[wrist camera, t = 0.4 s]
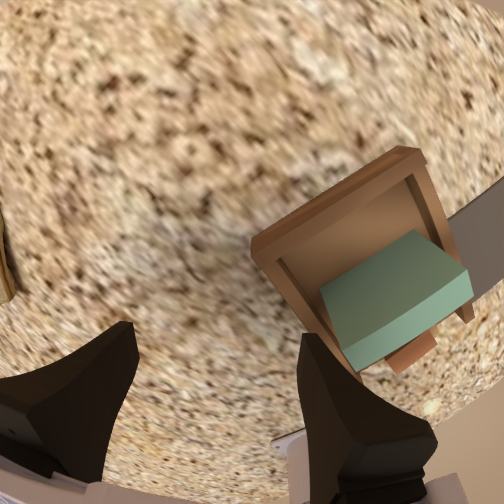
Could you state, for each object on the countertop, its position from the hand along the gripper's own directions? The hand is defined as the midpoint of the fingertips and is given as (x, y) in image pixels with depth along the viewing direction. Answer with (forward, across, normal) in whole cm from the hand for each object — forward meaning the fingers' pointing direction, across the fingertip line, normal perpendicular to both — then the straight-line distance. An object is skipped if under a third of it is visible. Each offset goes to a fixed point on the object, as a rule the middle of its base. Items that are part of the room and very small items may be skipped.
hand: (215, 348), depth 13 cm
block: (+9, -10, 0) cm, 14 cm away
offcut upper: (+8, -14, +6) cm, 17 cm away
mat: (+10, -22, -3) cm, 24 cm away
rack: (+10, -11, +1) cm, 15 cm away
